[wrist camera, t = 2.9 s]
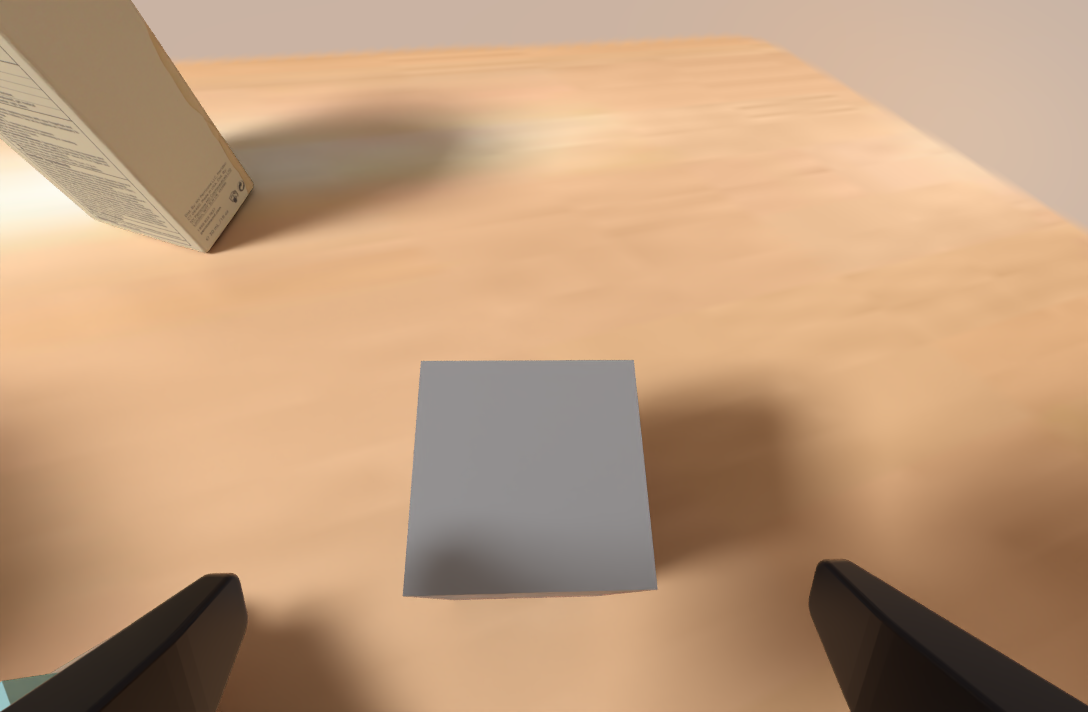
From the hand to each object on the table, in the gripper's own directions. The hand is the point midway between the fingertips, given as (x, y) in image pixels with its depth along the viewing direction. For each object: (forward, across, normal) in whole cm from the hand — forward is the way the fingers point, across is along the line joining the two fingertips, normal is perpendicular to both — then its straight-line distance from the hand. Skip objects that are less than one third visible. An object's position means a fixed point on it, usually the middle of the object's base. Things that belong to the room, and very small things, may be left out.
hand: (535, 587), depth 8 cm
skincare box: (+20, +16, -4) cm, 26 cm away
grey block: (+10, 0, +6) cm, 12 cm away
